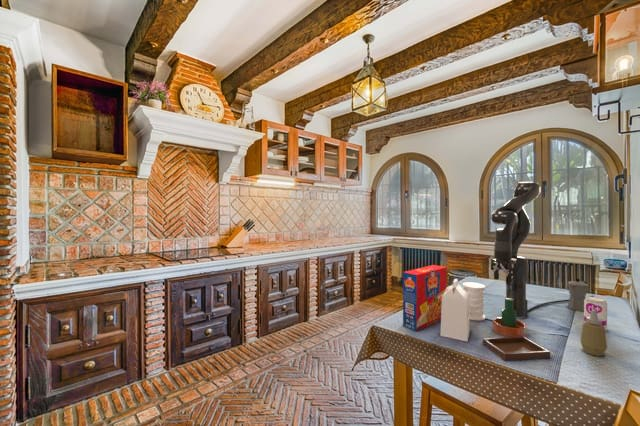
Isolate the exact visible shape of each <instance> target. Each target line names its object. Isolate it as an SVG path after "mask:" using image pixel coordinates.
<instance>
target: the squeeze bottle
mask: <svg viewBox="0 0 640 426" xmlns="http://www.w3.org/2000/svg"><path fill="white" fill-rule="evenodd" d="M586 321H587V322H584V321H583V322H582V328H581V334H580V344H581V347H582V349H583V351H584V352H585V353H586V354H589V355H592V356H595V357H604V354H605V353H606V351H607V348H608V343H607V334H606V330H605V327H604V326H603V325H601V324H602V320H600V319H598V316H597V312H596V310H592V312H591V315H590V317H587V318H586Z"/></svg>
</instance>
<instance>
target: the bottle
mask: <svg viewBox="0 0 640 426" xmlns="http://www.w3.org/2000/svg"><path fill="white" fill-rule="evenodd" d="M501 317H502V320H501V325H502V326H505V327H510V328H516V320H517V317H516V312H515V310H514V309H513V299H511V298H506V297H505V298H504V307H503V309H501Z"/></svg>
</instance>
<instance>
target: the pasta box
mask: <svg viewBox="0 0 640 426" xmlns="http://www.w3.org/2000/svg"><path fill="white" fill-rule="evenodd" d="M447 277H448V275H447V266H442V265H438V264H437V265H436V264H431V265H426V266H423V267H419V268H414V269H411V270H410V269H409V270H405V271H403V272H402V326H403V327H405V328H408V329H411V330H413V331H415V332H418V331H420V330H422V329H424V328H427V327H429V326H431V325H433V324H435V323H438V322H439V321H441V309H442V296H443V294H444V292H445V291H446V290H445V289H446V288H447V284H448V283H447Z"/></svg>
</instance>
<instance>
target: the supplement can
mask: <svg viewBox="0 0 640 426" xmlns="http://www.w3.org/2000/svg"><path fill="white" fill-rule="evenodd" d="M585 297H586V298H585V300H584V311H583V323H584V322H587V321H586V318H587V317H590V315H591V312H592V310H596V312H597V316H598V319H600V320H602V324H601V325H603V326H604V327H605V331H607V330H608V302H607V301H606V299H604V298H601V297H597V296H596V297H595V296H594V297H589V296H585Z"/></svg>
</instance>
